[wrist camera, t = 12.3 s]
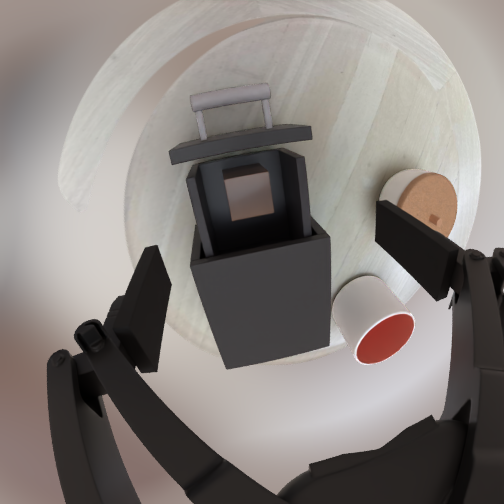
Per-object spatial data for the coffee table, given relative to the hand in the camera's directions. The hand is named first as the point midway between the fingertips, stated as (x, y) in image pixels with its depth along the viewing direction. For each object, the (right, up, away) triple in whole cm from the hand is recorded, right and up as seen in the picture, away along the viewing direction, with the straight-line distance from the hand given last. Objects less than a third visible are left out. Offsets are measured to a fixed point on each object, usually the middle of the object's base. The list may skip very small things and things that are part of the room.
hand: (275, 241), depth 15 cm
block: (-2, +7, +13) cm, 15 cm away
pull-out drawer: (-2, +8, +14) cm, 16 cm away
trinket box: (+19, +7, +19) cm, 28 cm away
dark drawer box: (-1, -2, +21) cm, 21 cm away
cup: (+16, -8, +26) cm, 31 cm away
